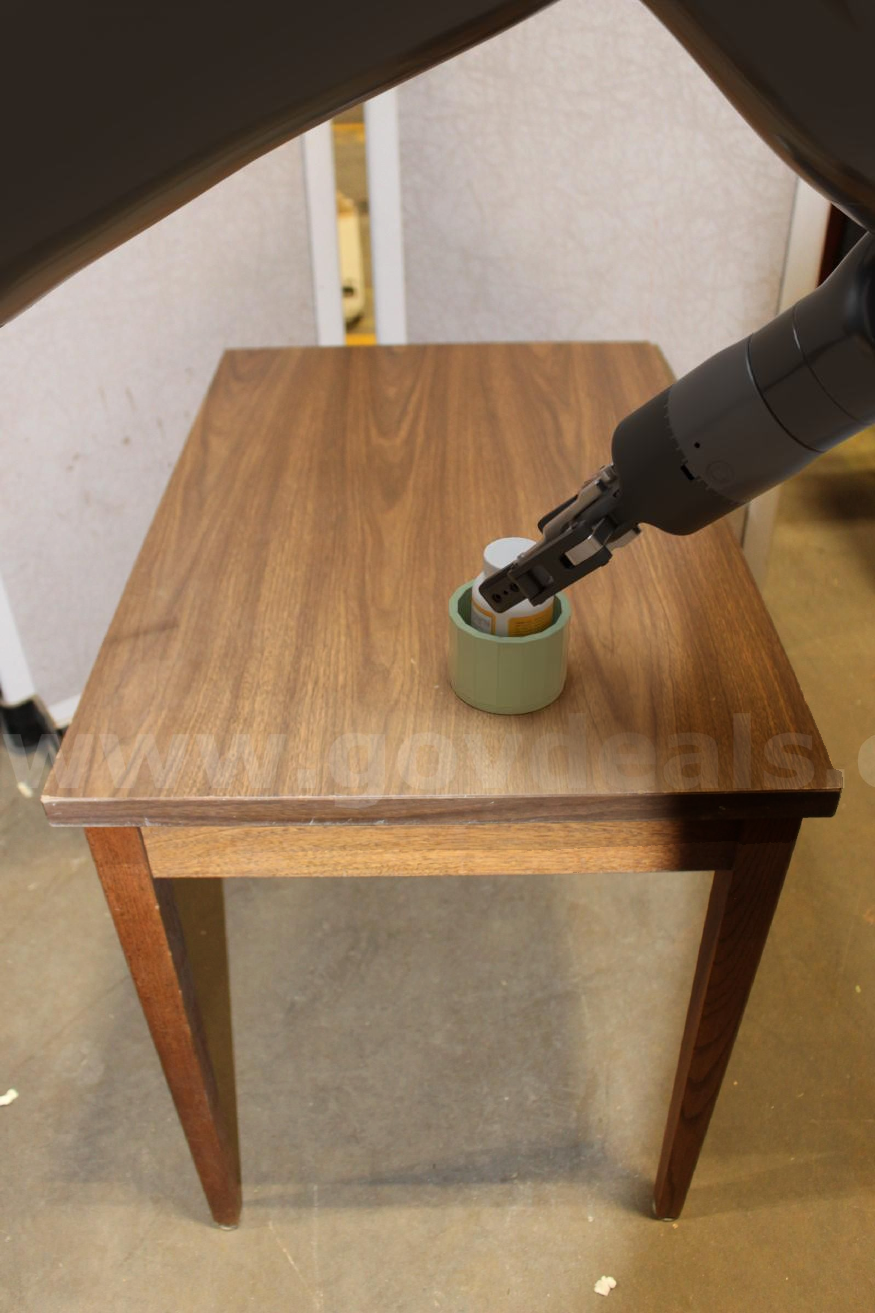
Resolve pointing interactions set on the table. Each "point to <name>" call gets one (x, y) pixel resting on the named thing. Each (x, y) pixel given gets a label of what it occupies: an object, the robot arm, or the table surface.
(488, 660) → the holder
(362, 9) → the robot arm
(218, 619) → the table surface
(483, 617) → the supplement bottle
